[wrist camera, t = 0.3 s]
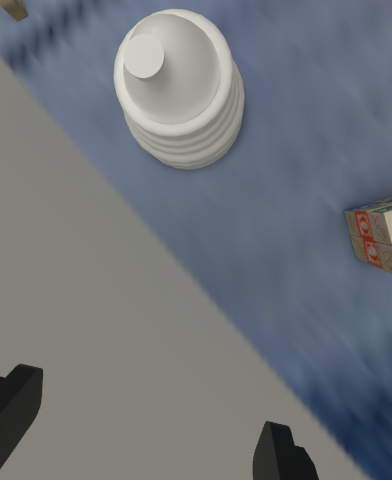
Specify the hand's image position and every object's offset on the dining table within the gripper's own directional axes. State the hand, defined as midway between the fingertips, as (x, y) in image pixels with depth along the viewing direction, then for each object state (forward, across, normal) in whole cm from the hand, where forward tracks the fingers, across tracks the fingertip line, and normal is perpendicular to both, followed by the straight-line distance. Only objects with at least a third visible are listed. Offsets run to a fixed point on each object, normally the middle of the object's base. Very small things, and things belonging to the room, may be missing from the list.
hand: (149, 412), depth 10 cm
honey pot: (+30, +4, -12) cm, 33 cm away
